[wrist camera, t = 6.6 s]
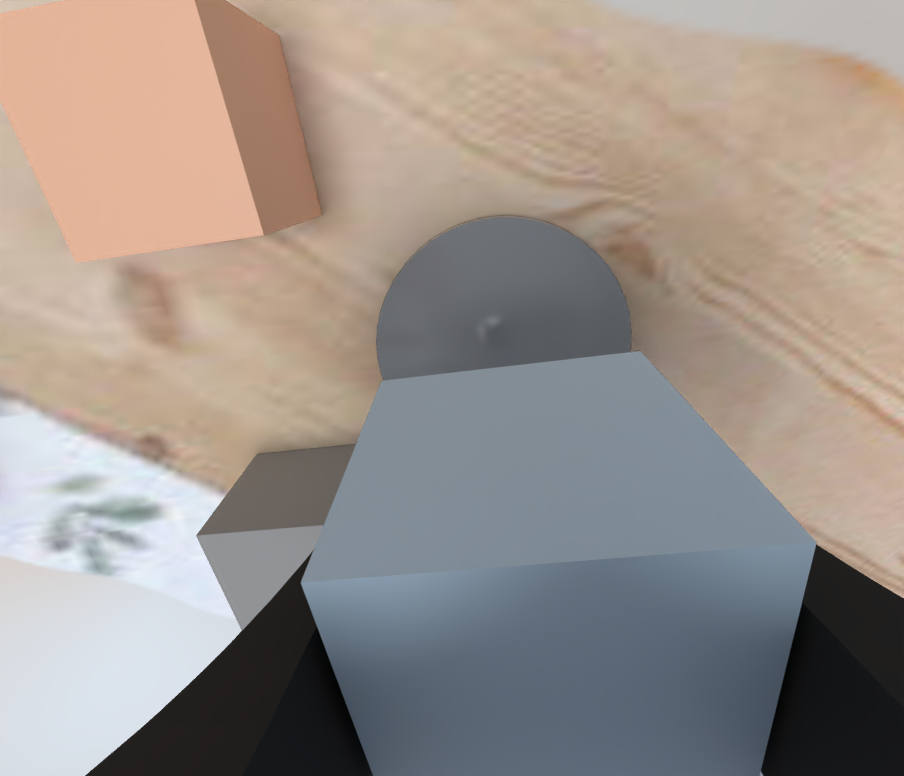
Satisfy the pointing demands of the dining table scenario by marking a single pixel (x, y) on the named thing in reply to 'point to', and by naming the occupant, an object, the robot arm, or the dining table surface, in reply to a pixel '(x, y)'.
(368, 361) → the dining table surface
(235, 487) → the charcoal cube
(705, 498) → the blue cube
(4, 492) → the dining table surface
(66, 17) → the terracotta cube
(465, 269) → the slate coaster
